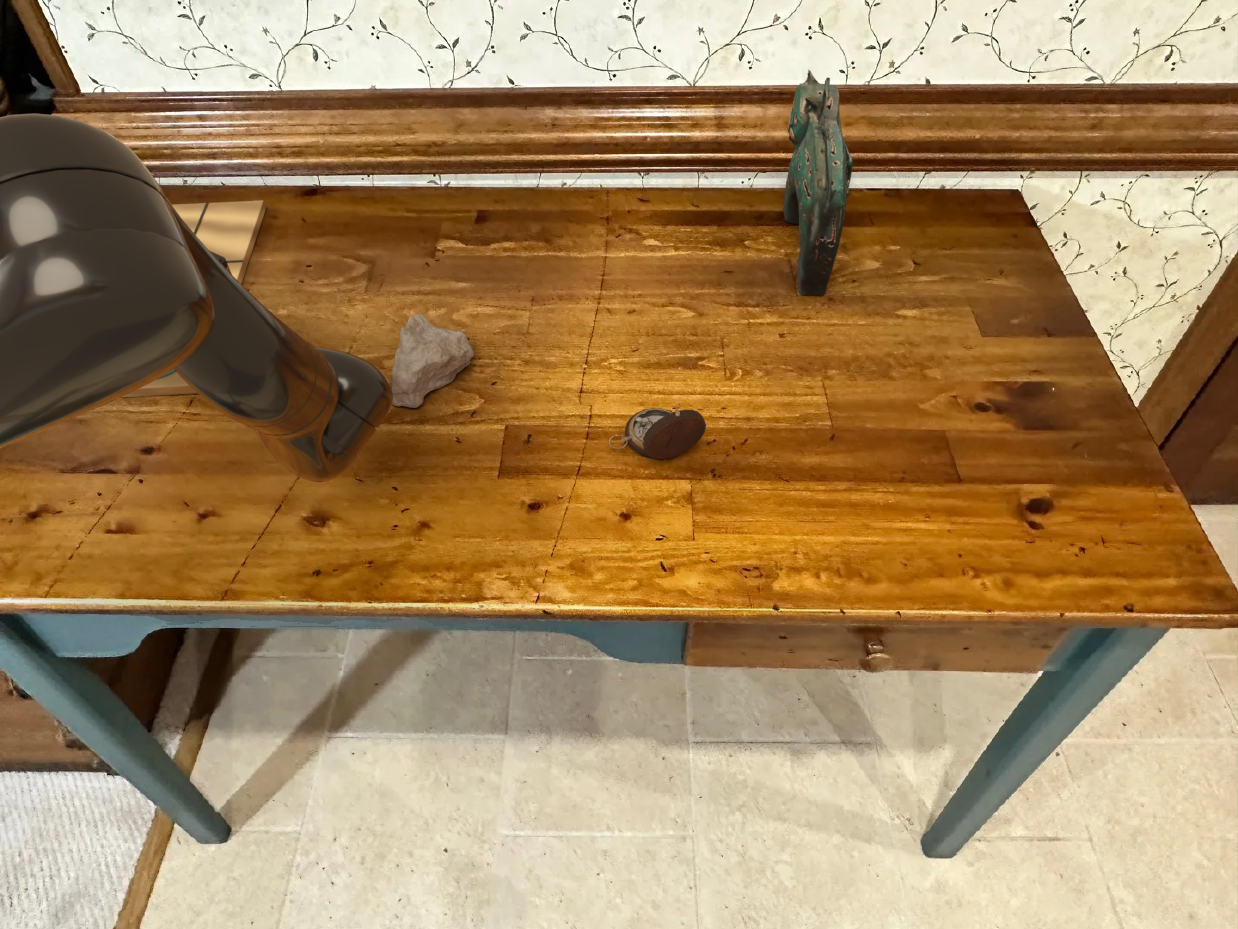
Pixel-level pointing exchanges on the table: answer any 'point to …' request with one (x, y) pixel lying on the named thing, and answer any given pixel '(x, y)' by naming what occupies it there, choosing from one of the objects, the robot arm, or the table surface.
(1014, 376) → the table surface
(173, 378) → the board
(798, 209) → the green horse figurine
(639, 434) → the compass
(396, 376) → the stone
